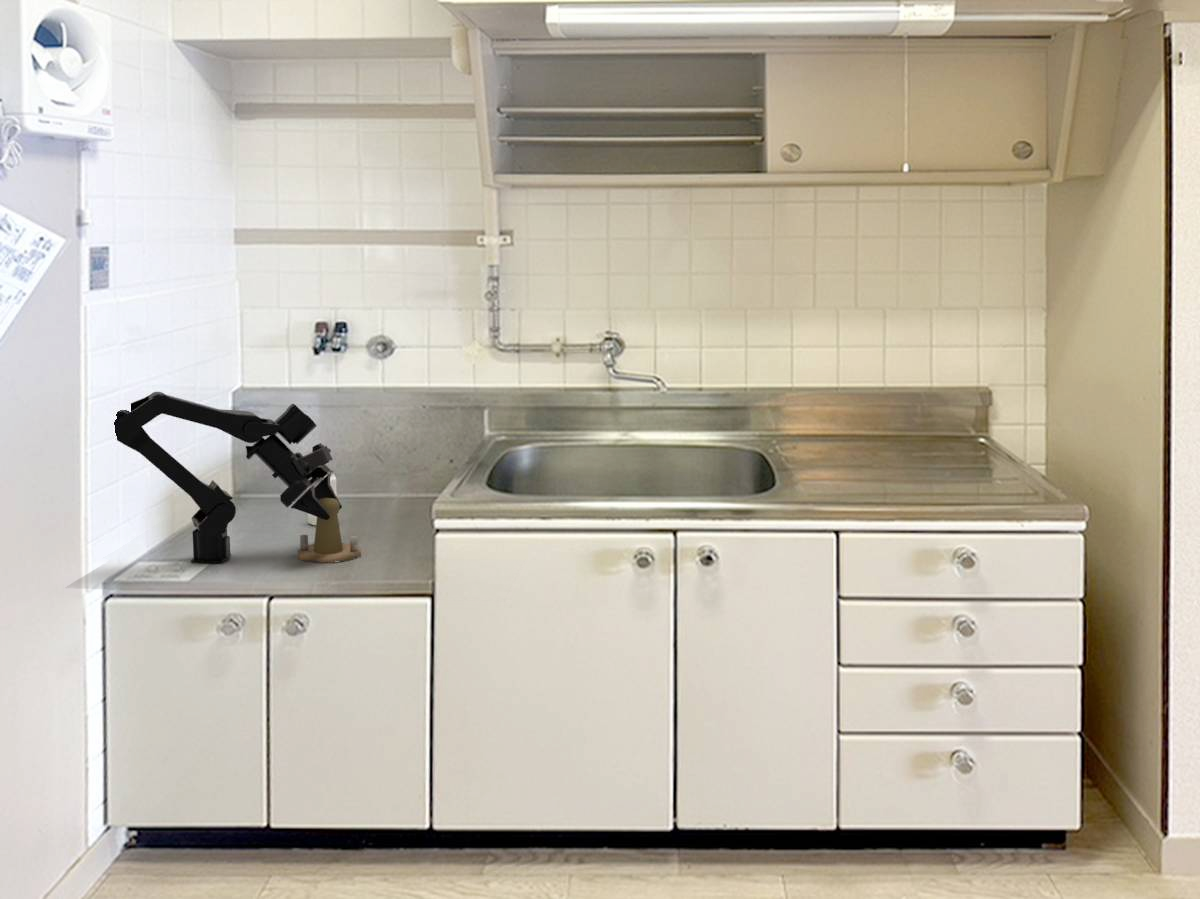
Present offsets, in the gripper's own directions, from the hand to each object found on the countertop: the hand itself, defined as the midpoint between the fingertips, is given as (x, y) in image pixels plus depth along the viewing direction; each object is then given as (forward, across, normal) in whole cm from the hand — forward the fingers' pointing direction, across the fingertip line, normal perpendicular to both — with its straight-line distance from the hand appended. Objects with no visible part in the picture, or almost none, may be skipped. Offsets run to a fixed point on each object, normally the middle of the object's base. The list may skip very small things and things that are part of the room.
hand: (334, 513), depth 297 cm
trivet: (+5, 0, +7) cm, 9 cm away
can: (-1, +28, +14) cm, 31 cm away
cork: (+5, 0, +7) cm, 8 cm away
